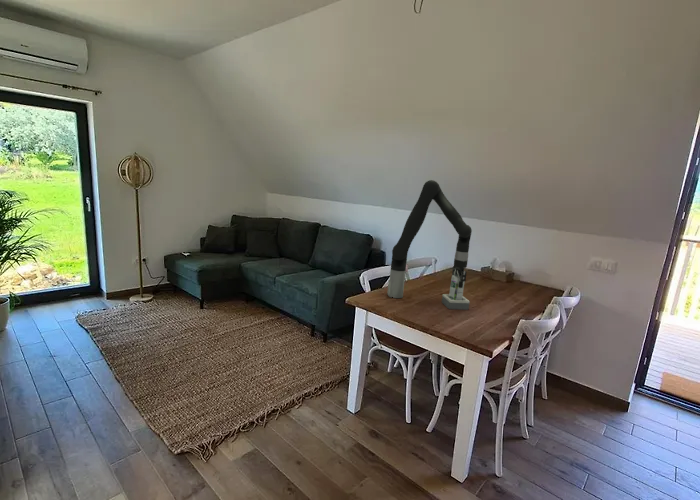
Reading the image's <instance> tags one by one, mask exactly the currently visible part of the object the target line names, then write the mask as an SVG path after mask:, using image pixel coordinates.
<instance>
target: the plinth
mask: <svg viewBox="0 0 700 500" xmlns="http://www.w3.org/2000/svg"><path fill="white" fill-rule="evenodd" d="M441 304H442V305H444V306H445V307H446V308H447V309H448V310H460V311H461V310H466V311H468V310H469V308H470V300H469V299H467V298H466V297H465V296H464V295H463V296H462V300H452V299H450V298H449V293H442V296H441Z"/></svg>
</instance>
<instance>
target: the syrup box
mask: <svg viewBox="0 0 700 500" xmlns="http://www.w3.org/2000/svg"><path fill="white" fill-rule="evenodd" d="M450 281H451V282H450V287H449V293H448V294H449V298H450V299H452V300H462V296H464V289H465V283H466V281H464V282H463V287H462V288H459V287H458V286H459V278H458V275H452V274H451V280H450Z"/></svg>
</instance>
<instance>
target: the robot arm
mask: <svg viewBox="0 0 700 500" xmlns="http://www.w3.org/2000/svg"><path fill="white" fill-rule="evenodd" d="M432 201H434V202H435V203H436V204H437V206H438V207H439V208H440V210H441V212H442V213H443V215H444V216H445V218H446V220H448V222H449V223H450V224H451V225H452V227H453V228H454V230H455V231H456V233H457V234H458V237H457V238H458V240H457V242H456V247H455V248H456V249H455V252H454V260H453V267H452V272H451V276H452V275H458V278H459V286H458V287H459V288H462V287H463V282H464V281H465V282H466V280H467V271H466V270H465V269H466V268H467V267H468V262H469V261H468V260H469V249H470V241H471V236H472V231H473V230H472V227H471V226H470V225H468V224H467V223H466V222H465V221H464V219H463V216H462V215H461V214H460V213H459V211H458V210H457V209H456V208H455V206H454V205H453V204H452V203H451V202H450V201H449V200H448V198H447V197H446V196H445V194H444V192H443V191H442V188H441V186H440V184H439V183H438V182H437V181H436V180H434V179H433V180H432V179H430V180H427V181H425V183H424V184H423V186H422V188H421V192H420V194H419V196H418V200H417V201H416V203H415V204H414V207H412V209H411V211H410V213H409V215H408V217H407V220H406V221H405V224H404V226H403V230H402V233H401V235H400V237H399V239H398V241H397V243H396V244H394V246H393V248H392V250H391V253H392V255H391V263H390V272H389V279H388V284H387V285H388V286H387V293H386V294H387V295H388V298H392V297H393V299H402V298H403V297H404V288H405V282H406V281H405V280H406V270H407V260H408V252H409V250H410V248H411V245H412V242H413V241H414V239H415V238H416V236H417V234H418V232H419V231H420V229H421V228H422V225H423V224H424V221H425V220H426V216H427V214H428V210H429V208H430V205H431V203H432ZM465 282H464V283H465Z"/></svg>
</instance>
